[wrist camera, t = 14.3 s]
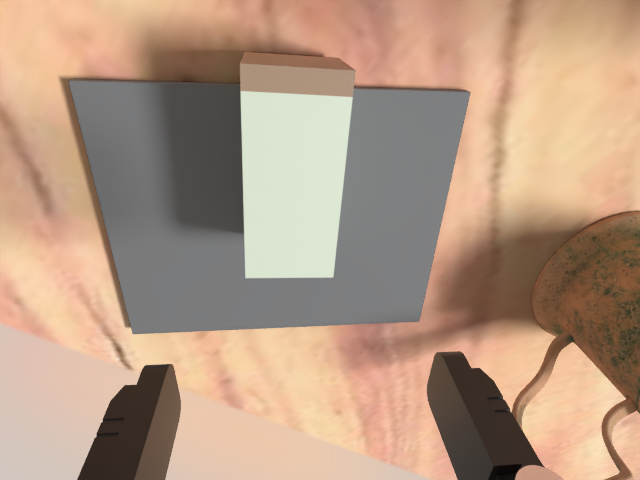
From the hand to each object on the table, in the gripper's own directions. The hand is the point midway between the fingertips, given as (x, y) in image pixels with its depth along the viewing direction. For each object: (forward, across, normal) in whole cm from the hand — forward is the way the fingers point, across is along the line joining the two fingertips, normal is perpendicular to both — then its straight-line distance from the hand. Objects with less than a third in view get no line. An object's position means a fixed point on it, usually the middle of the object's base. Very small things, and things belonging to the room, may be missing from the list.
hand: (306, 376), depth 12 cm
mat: (+13, +1, +2) cm, 13 cm away
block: (+10, 0, +2) cm, 11 cm away
